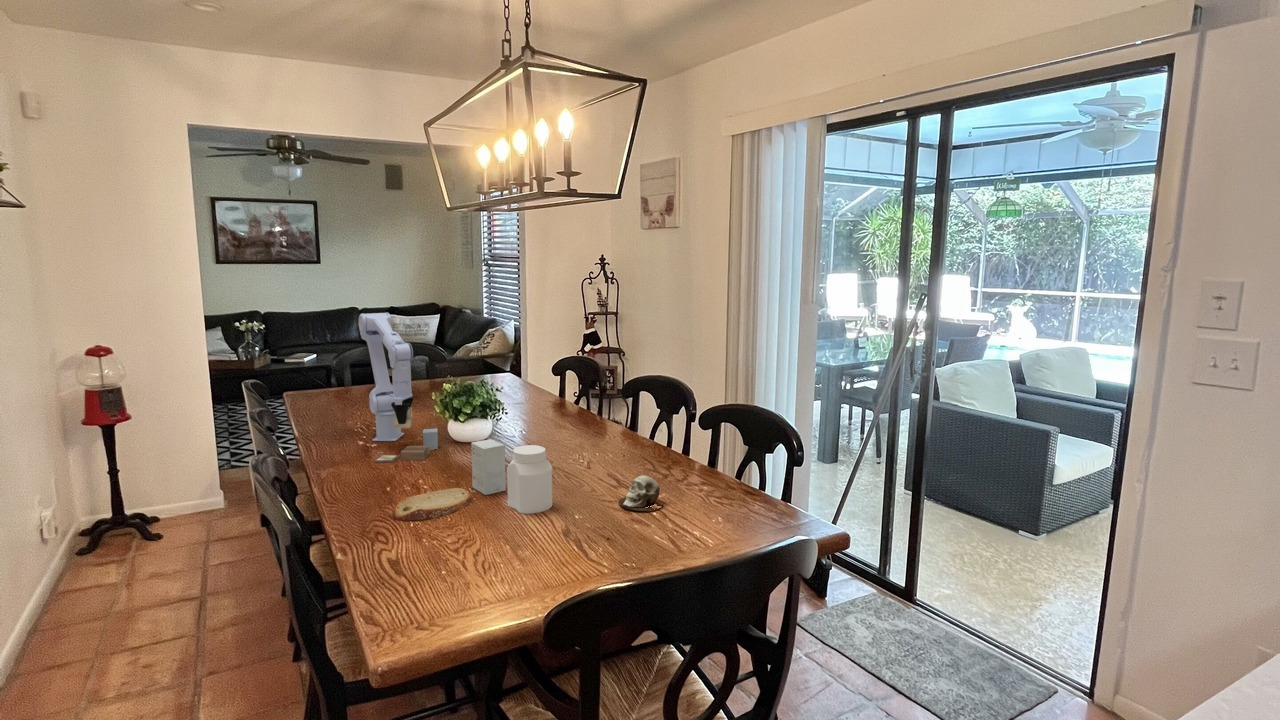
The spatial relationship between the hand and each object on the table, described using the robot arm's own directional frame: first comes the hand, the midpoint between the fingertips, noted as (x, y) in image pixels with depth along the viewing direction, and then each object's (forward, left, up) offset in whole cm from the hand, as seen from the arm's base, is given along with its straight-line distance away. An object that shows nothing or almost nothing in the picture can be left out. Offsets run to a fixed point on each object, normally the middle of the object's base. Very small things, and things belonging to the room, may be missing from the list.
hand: (403, 421), depth 222 cm
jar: (+49, +48, -10) cm, 69 cm away
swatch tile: (+11, -2, -9) cm, 15 cm away
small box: (+37, +35, -10) cm, 52 cm away
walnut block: (+8, +6, -10) cm, 14 cm away
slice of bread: (+50, +23, -10) cm, 56 cm away
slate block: (-2, +8, -10) cm, 13 cm away
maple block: (0, 0, -2) cm, 2 cm away
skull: (+48, +77, -10) cm, 91 cm away
